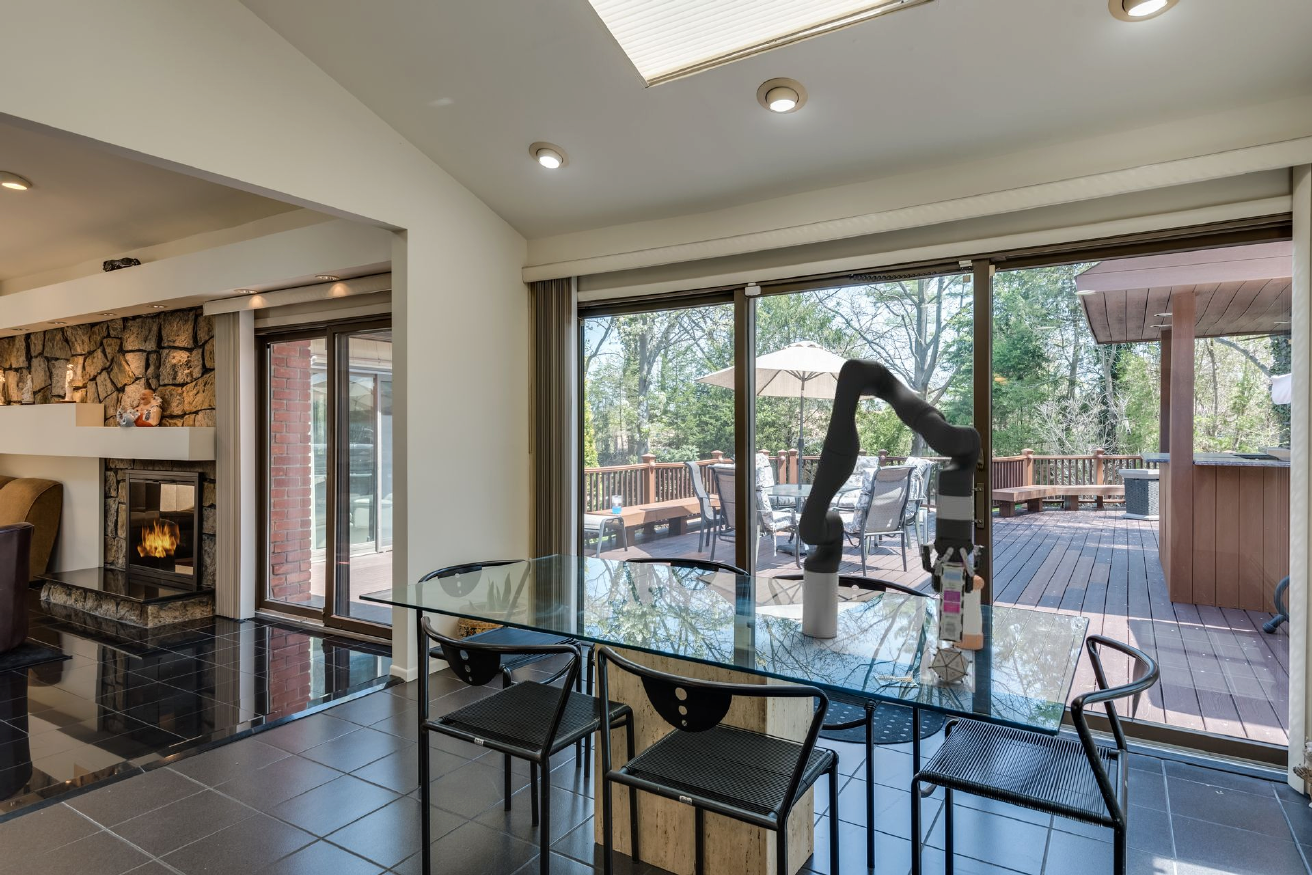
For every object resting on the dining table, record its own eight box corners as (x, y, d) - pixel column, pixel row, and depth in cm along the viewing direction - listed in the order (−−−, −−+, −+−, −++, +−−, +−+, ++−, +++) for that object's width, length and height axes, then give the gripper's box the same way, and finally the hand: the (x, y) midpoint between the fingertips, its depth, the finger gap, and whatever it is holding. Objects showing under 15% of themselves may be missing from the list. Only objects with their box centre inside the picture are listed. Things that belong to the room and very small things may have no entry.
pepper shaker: (965, 650, 183) (967, 575, 183) (946, 642, 190) (948, 569, 190) (989, 648, 185) (991, 574, 184) (969, 640, 192) (971, 568, 192)
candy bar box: (964, 643, 153) (966, 566, 152) (938, 640, 154) (940, 564, 154) (962, 630, 163) (964, 557, 163) (938, 627, 165) (940, 556, 165)
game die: (941, 700, 158) (914, 663, 159) (950, 676, 165) (923, 640, 165) (978, 690, 153) (950, 651, 153) (985, 666, 159) (958, 629, 159)
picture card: (873, 676, 162) (873, 674, 162) (910, 677, 161) (910, 676, 161) (881, 686, 156) (881, 684, 156) (918, 687, 155) (918, 685, 155)
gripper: (980, 514, 162) (978, 589, 162) (915, 513, 163) (913, 587, 163) (994, 519, 154) (992, 597, 155) (926, 517, 155) (924, 595, 155)
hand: (951, 591), depth 159 cm, fingers closed on candy bar box, 6 cm apart
